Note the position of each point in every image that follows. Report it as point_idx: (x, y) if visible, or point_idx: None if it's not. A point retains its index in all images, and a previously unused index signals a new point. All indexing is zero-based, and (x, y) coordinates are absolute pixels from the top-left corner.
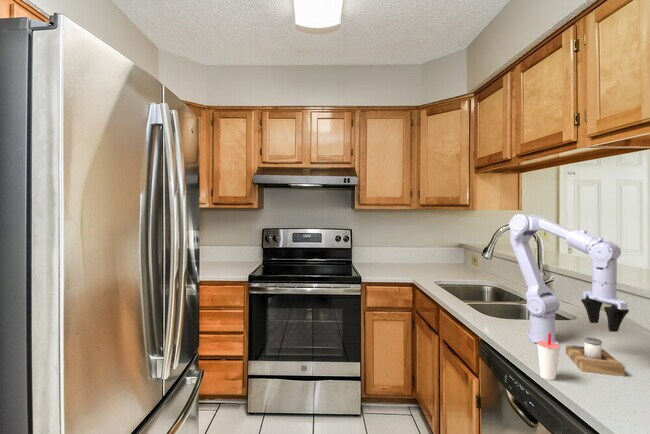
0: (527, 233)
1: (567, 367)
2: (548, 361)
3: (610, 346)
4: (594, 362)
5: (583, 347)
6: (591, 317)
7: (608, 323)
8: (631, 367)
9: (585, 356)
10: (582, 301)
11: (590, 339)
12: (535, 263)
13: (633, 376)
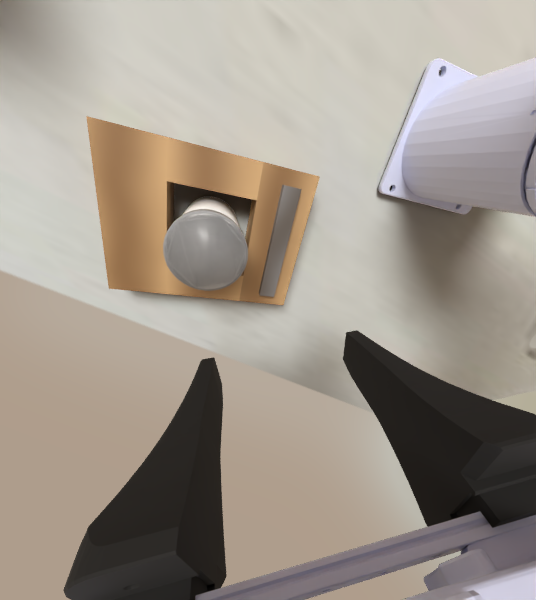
0: None
1: (133, 67)
2: None
3: None
4: (114, 190)
5: (279, 234)
6: (364, 355)
7: (201, 390)
8: (210, 326)
9: (205, 200)
10: (521, 418)
11: (216, 247)
12: None
13: (135, 299)
